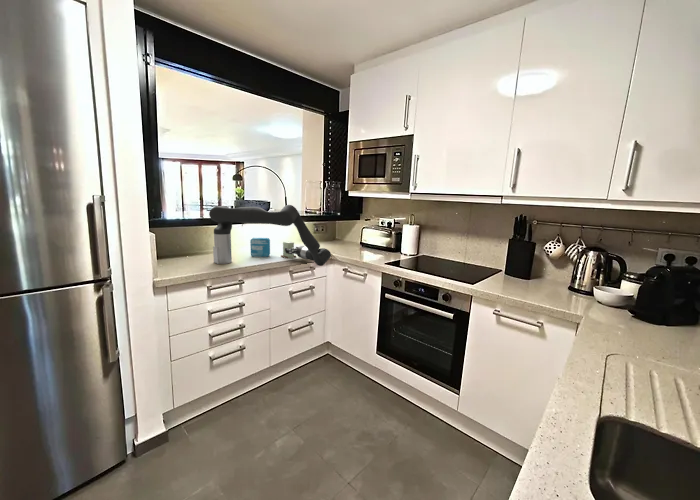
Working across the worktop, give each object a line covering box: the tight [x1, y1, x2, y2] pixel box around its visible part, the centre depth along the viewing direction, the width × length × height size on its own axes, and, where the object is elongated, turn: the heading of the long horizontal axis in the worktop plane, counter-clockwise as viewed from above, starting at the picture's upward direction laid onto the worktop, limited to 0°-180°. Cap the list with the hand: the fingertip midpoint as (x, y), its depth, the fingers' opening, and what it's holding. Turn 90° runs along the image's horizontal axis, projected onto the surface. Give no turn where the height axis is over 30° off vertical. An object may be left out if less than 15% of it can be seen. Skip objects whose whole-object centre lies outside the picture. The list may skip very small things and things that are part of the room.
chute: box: [280, 254, 297, 259], centre depth 207 cm, size 7×7×1 cm
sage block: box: [282, 241, 295, 259], centre depth 206 cm, size 4×6×10 cm
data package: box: [249, 237, 271, 258], centre depth 206 cm, size 12×4×12 cm, turn 98°
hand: (290, 248), depth 204 cm, fingers open, 8 cm apart
